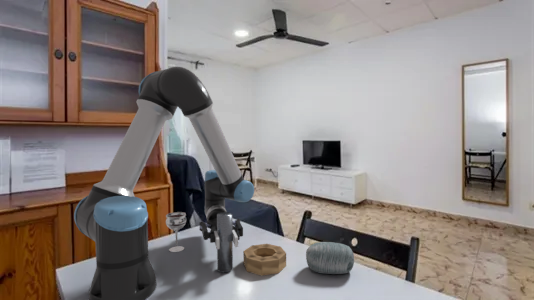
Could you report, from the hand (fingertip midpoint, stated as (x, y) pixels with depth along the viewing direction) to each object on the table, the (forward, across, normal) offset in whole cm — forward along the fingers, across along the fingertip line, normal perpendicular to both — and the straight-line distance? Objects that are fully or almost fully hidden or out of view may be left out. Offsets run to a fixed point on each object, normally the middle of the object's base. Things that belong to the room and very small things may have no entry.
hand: (227, 243), depth 77 cm
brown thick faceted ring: (-5, -12, -10) cm, 17 cm away
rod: (-5, 0, -10) cm, 11 cm away
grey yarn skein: (+4, -29, -10) cm, 31 cm away
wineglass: (-25, +14, -10) cm, 31 cm away
